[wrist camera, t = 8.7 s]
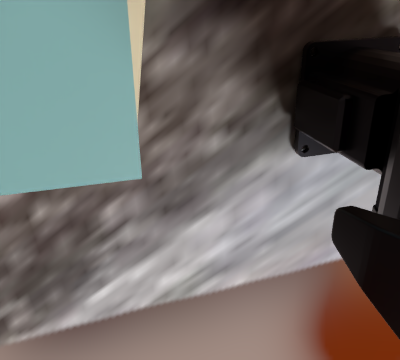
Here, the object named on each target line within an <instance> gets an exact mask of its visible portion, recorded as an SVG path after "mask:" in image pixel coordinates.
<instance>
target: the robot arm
mask: <svg viewBox="0 0 400 360" xmlns="http://www.w3.org/2000/svg"><path fill="white" fill-rule="evenodd" d="M399 44H400V36H395V37H378V38H361V39H344V40H327V41H312V42H309V43H307V44H306V45H305V47H304V49H303V55H302V67H301V78H300V82H299V84H298V87H297V99H296V111H295V123H294V126H295V128H296V135H295V147H294V149H295V152H296V153H297V154H298V155H300V156H301V157H308V156H315V155H322V154H330V153H339V154H341V155H343V156H344V157H346V158H348V159H349V160H351V161H353V162H354V163H356V164H358V165H359V166H361V167H363V168H364V169H366V170H371V169H372V170H374V171H376V172H377V173H379V174H381V175H382V176H381V180H380V185H379V190H378V195H377V200H376V205H374V206H373V209H372V211H368V210H365V209H361V208H358V207H354V206H347V207H341V208H338V209H337V210H336V211H335V215H334V221H333V228H332V241H333V243H334V245H335V247H336V248H337V250H338V252H339V253H340V255H341V257H342V258H343V260H344V261H345V263H346V265H347V266H348V268H349V269H350V271H351V273H352V274H353V276H354V278H355V279H356V281H357V283H358V284H359V286H360V287H361V289H362V290H363V292H364V293H365V294H366V296H367V297H368V299H369V300H370V301H371V302H372V304H373V305H374V306H375V308H376V309H377V310H378V312H379V313H380V314H381V316H382V317H383V318H384V320H385V321H386V322H387V324H388V325H389V326H390V327H391V329H392V330H393V332H394V333H395V334H396V335H397V337H398V338H399V339H400V48H399ZM313 48H315V54H314V55H313V56H311V50H312V49H313ZM304 145H306V147H305V149H304V150H303V151H301V149H302V147H303V146H304Z"/></svg>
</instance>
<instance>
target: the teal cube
mask: <svg viewBox="0 0 400 360" xmlns="http://www.w3.org/2000/svg"><path fill="white" fill-rule="evenodd" d="M134 179H142V173H141V161H140V149H139V137H138V125H137V113H136V101H135V89H134V77H133V65H132V53H131V41H130V29H129V17H128V5H127V0H0V195H8V194H17V193H25V192H34V191H42V190H50V189H59V188H67V187H75V186H84V185H92V184H101V183H109V182H117V181H126V180H134Z"/></svg>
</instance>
